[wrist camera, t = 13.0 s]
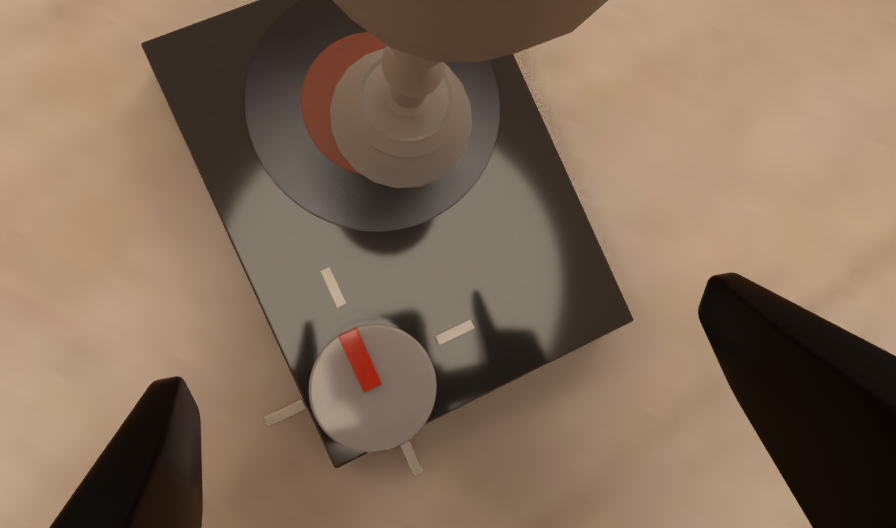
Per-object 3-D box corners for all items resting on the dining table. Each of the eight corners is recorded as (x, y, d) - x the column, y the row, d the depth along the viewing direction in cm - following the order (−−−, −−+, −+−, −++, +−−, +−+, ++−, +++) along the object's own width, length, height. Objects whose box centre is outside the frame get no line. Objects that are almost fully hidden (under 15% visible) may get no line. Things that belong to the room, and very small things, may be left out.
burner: (539, 171, 22) (540, 170, 22) (310, 272, 21) (309, 272, 21) (437, -52, 22) (438, -55, 22) (202, 35, 21) (200, 32, 21)
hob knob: (440, 395, 21) (459, 419, 17) (345, 441, 21) (340, 479, 16) (397, 302, 21) (406, 303, 17) (301, 346, 21) (285, 358, 16)
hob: (627, 350, 24) (652, 355, 22) (318, 506, 22) (313, 528, 20) (448, -43, 24) (456, -76, 22) (122, 78, 22) (96, 55, 20)
